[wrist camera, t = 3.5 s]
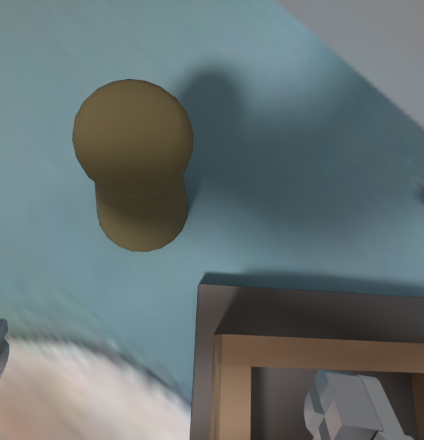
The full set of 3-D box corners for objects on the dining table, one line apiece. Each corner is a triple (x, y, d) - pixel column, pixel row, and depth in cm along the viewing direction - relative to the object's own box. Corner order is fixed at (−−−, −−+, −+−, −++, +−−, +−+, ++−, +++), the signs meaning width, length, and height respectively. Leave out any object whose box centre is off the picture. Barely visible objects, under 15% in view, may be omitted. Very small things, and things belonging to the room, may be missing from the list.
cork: (195, 177, 27) (218, 74, 16) (177, 260, 25) (191, 201, 14) (110, 159, 26) (78, 40, 16) (85, 241, 24) (31, 167, 14)
